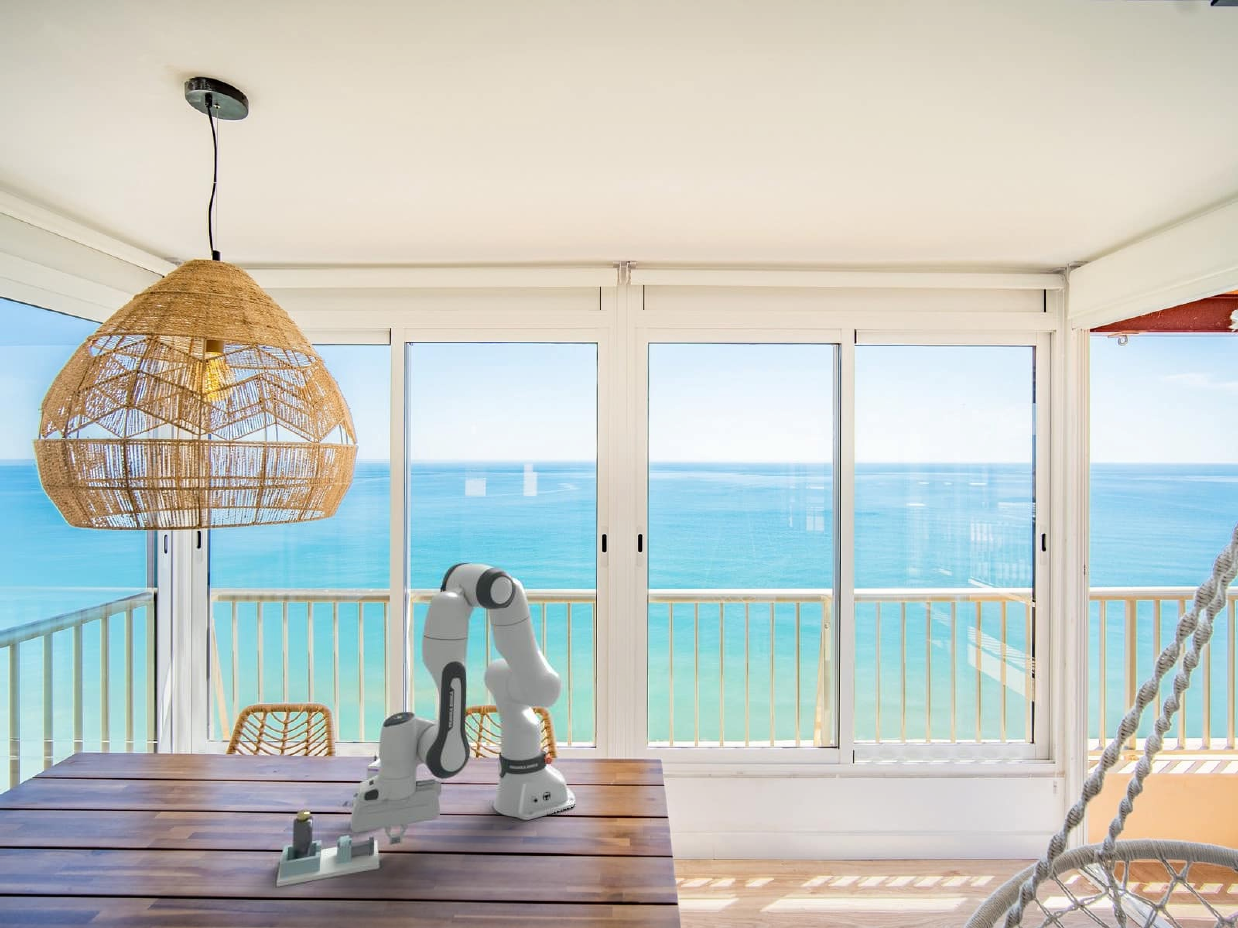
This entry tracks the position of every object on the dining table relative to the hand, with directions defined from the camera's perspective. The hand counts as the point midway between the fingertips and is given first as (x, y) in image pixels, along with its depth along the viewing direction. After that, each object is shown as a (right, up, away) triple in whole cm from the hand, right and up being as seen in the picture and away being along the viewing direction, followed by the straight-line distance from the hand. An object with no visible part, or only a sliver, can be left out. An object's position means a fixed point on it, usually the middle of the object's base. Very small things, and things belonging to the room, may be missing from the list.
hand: (395, 843), depth 160 cm
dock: (-14, -2, -6) cm, 15 cm away
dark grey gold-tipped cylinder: (-19, -1, -8) cm, 20 cm away
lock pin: (-8, -1, -3) cm, 9 cm away
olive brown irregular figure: (-15, -4, +28) cm, 32 cm away
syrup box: (-9, -3, +17) cm, 19 cm away
